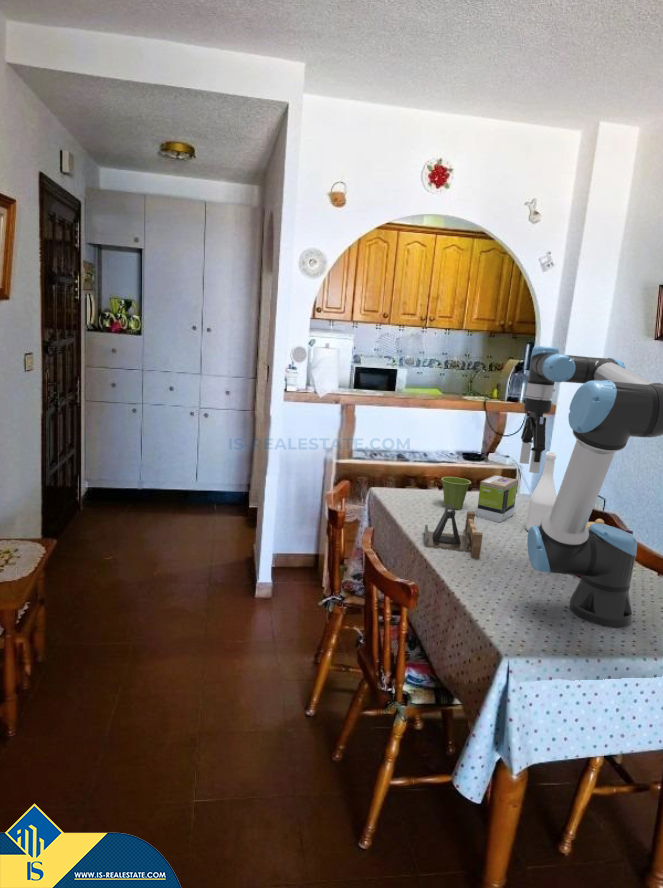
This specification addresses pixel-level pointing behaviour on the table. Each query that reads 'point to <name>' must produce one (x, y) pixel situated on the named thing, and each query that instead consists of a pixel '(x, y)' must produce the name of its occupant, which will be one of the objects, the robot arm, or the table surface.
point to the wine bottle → (543, 494)
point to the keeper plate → (462, 547)
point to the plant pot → (455, 491)
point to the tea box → (497, 498)
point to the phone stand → (441, 525)
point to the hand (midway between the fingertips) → (528, 467)
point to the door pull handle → (473, 536)
